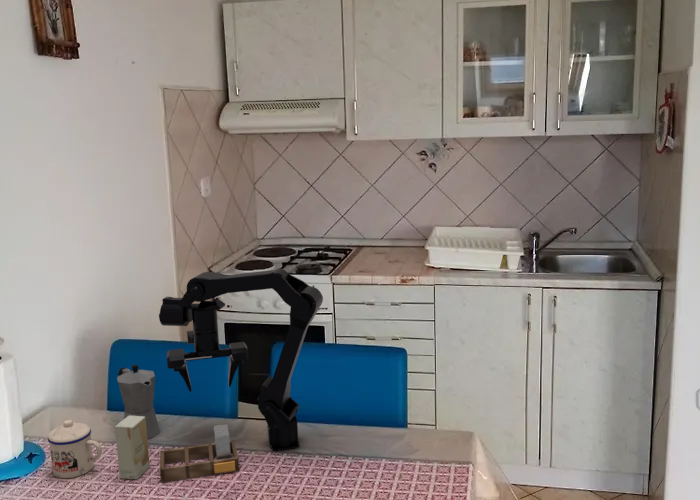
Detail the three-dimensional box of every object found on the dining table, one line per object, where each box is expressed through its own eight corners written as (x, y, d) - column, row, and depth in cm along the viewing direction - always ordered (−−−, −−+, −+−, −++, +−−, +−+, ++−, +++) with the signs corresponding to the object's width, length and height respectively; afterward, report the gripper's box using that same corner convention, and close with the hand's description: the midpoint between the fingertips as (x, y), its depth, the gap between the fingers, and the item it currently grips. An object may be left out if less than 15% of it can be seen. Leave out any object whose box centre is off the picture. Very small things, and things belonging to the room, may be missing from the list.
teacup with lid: (43, 477, 154) (36, 428, 152) (68, 457, 162) (62, 411, 160) (91, 482, 151) (85, 432, 149) (114, 461, 160) (109, 414, 158)
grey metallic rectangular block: (229, 456, 161) (227, 424, 159) (231, 468, 155) (229, 435, 153) (216, 458, 160) (213, 425, 158) (218, 470, 154) (215, 437, 153)
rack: (235, 452, 163) (234, 440, 162) (239, 471, 153) (238, 459, 153) (161, 462, 159) (160, 450, 158) (161, 483, 150) (159, 470, 149)
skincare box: (137, 480, 151) (131, 428, 149) (118, 479, 152) (113, 427, 150) (151, 465, 157) (146, 415, 155) (133, 464, 158) (128, 414, 156)
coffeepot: (171, 434, 173) (165, 366, 169) (136, 448, 166) (129, 377, 163) (141, 416, 183) (135, 352, 180) (107, 428, 177) (100, 361, 174)
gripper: (241, 313, 174) (245, 372, 177) (164, 321, 169) (169, 381, 172) (246, 326, 163) (250, 388, 166) (164, 334, 158) (170, 399, 161)
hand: (210, 388), depth 167 cm, fingers open, 9 cm apart
